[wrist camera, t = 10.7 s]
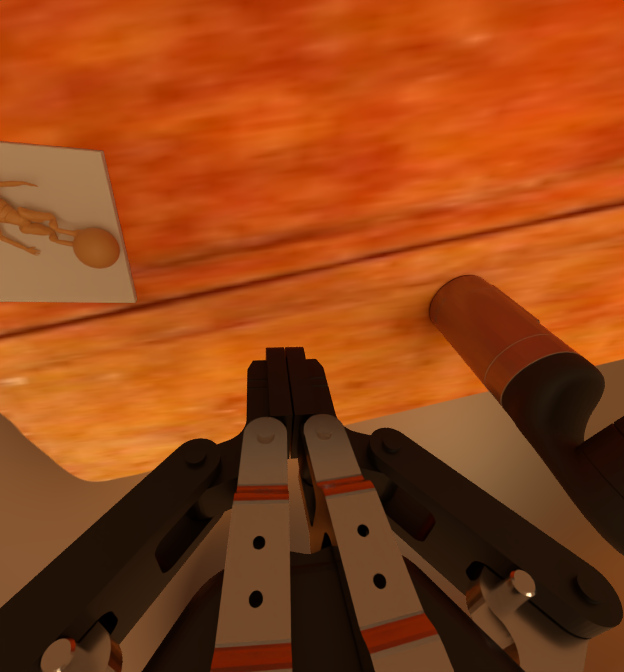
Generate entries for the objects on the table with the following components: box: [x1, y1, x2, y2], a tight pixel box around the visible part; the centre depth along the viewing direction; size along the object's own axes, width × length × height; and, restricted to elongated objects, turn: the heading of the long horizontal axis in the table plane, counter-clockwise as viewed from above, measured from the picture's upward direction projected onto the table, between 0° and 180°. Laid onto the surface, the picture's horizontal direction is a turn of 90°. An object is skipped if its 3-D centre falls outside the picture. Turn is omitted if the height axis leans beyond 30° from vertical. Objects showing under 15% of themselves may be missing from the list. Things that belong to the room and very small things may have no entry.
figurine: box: [0, 181, 120, 269], centre depth 32 cm, size 8×6×12 cm
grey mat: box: [0, 141, 137, 303], centre depth 34 cm, size 15×16×1 cm
